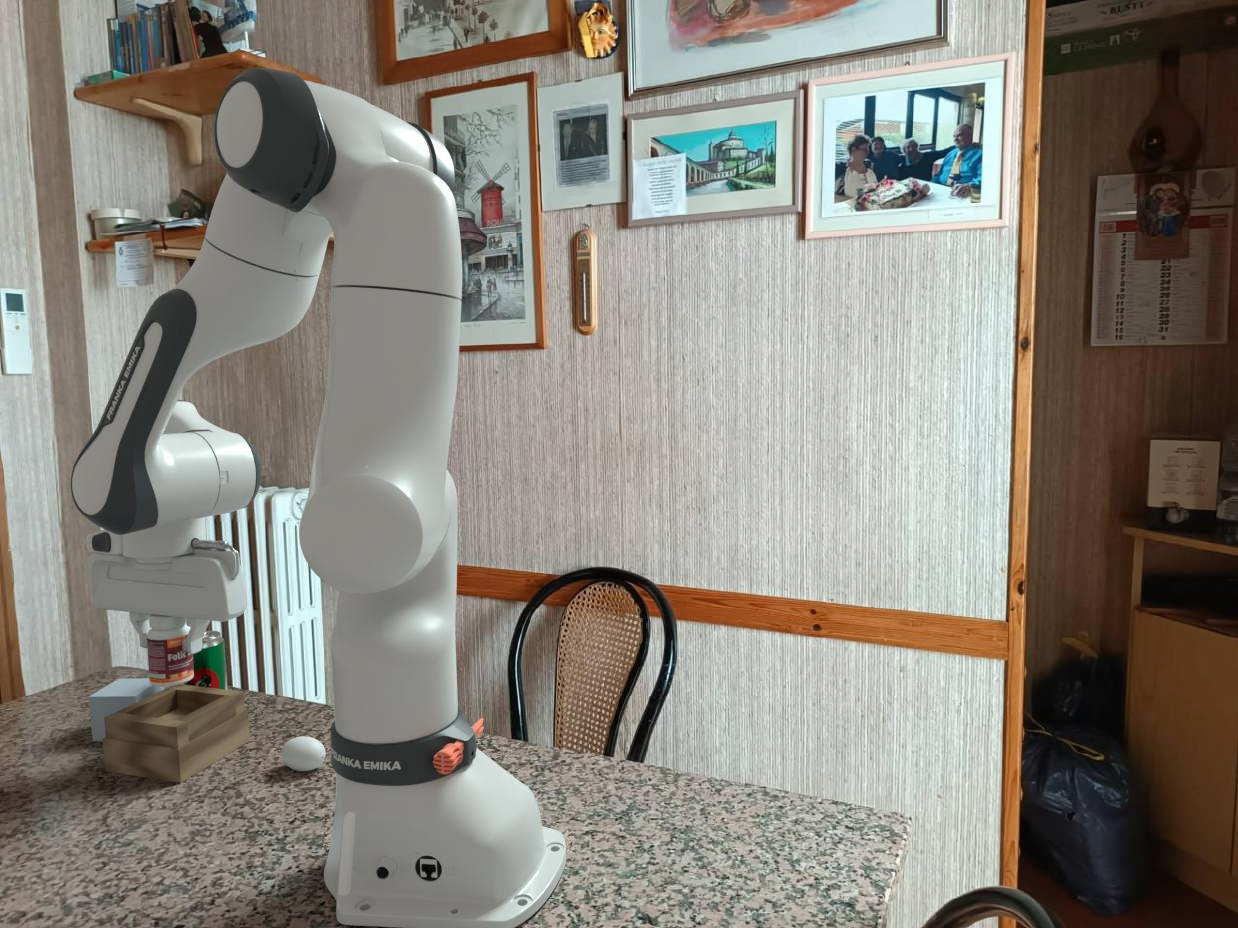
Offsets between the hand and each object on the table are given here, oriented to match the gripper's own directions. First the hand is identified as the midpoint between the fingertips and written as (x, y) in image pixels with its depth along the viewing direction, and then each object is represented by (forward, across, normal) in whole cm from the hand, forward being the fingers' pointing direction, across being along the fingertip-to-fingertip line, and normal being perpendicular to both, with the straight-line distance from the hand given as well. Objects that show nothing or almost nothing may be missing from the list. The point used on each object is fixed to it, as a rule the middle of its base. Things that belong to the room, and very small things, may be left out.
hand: (171, 649), depth 96 cm
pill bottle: (+4, 0, 0) cm, 4 cm away
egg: (+13, -17, -1) cm, 22 cm away
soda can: (+14, +3, -9) cm, 16 cm away
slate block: (+14, +12, -4) cm, 18 cm away
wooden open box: (+13, 0, 0) cm, 13 cm away
